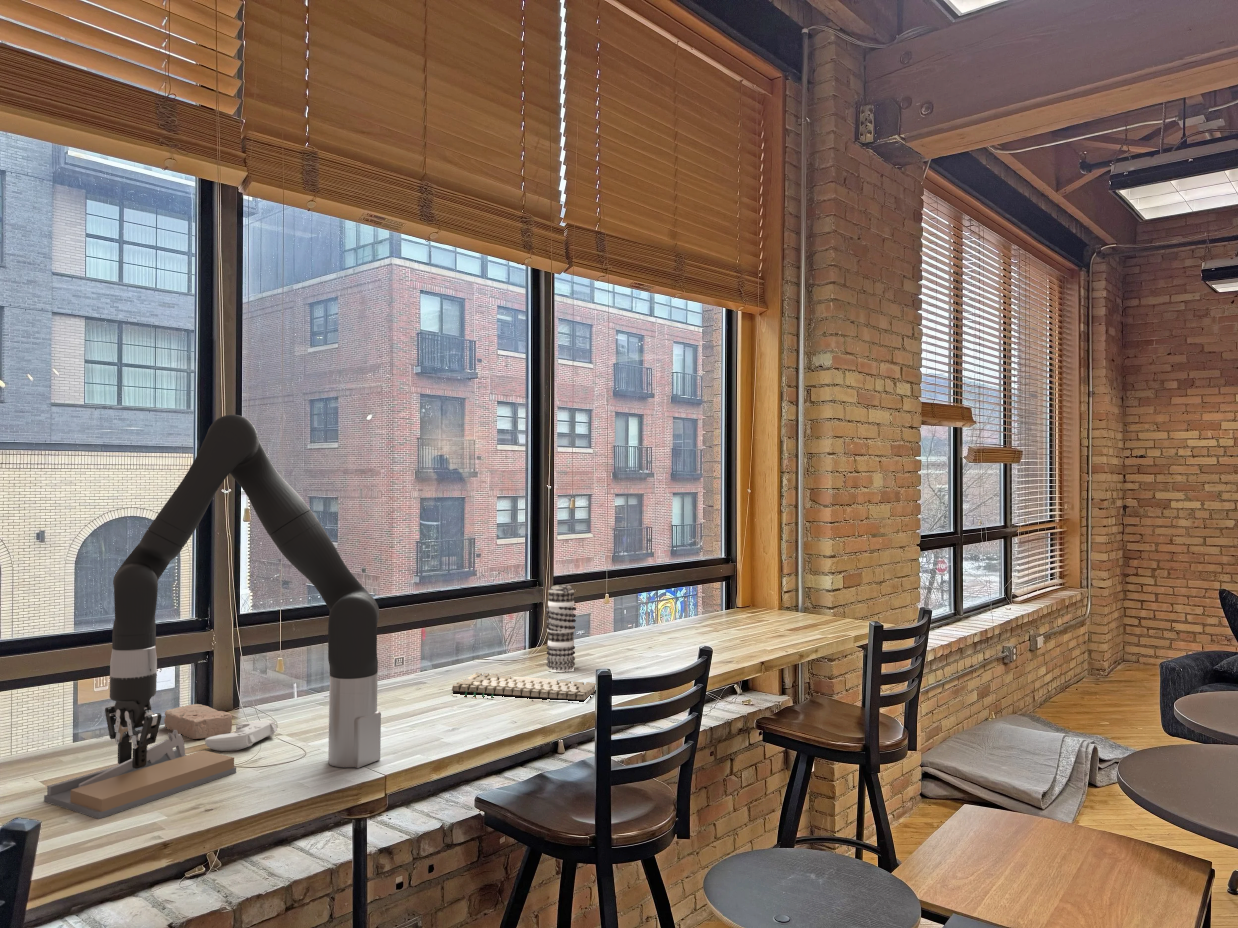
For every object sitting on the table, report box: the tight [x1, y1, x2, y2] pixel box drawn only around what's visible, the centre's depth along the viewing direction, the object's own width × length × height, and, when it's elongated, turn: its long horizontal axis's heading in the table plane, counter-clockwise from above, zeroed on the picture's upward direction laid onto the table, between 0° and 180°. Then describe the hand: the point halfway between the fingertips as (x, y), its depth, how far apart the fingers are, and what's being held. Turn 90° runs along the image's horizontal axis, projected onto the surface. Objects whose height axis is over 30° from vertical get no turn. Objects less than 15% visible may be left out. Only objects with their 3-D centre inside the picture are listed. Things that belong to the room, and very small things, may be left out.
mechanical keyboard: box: [451, 671, 597, 702], centre depth 228 cm, size 38×19×3 cm, turn 78°
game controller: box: [204, 720, 278, 752], centre depth 182 cm, size 14×4×10 cm
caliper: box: [78, 730, 186, 788], centre depth 158 cm, size 21×1×6 cm, turn 152°
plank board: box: [43, 748, 237, 820], centre depth 156 cm, size 16×26×3 cm, turn 152°
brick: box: [163, 703, 233, 740], centre depth 191 cm, size 16×8×5 cm, turn 51°
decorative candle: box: [545, 584, 577, 671], centre depth 256 cm, size 9×9×25 cm
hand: (131, 764), depth 158 cm, fingers open, 4 cm apart
